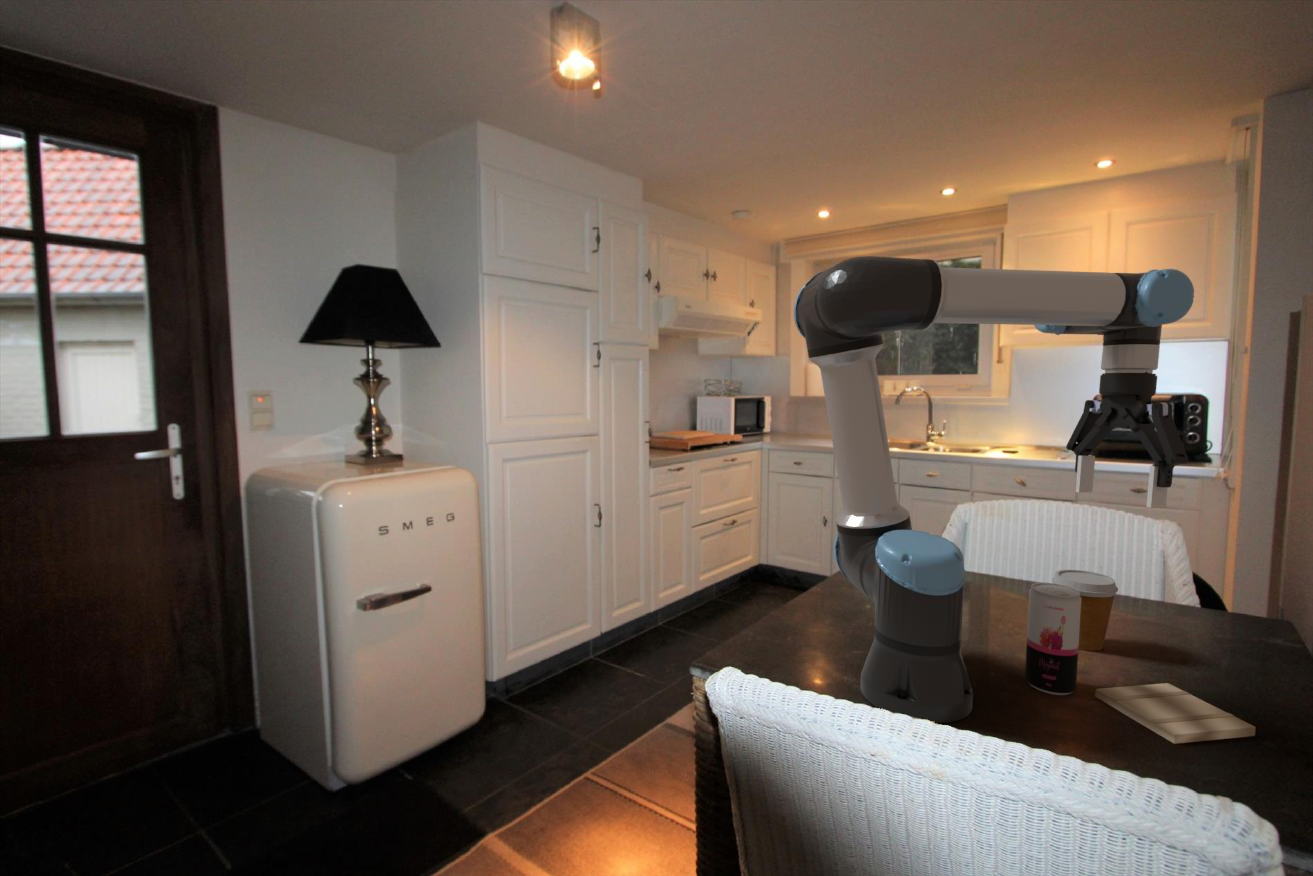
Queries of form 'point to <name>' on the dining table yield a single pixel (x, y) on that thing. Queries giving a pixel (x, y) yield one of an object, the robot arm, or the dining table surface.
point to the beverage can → (1053, 638)
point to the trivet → (1174, 713)
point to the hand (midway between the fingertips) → (1117, 499)
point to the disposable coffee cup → (1090, 604)
